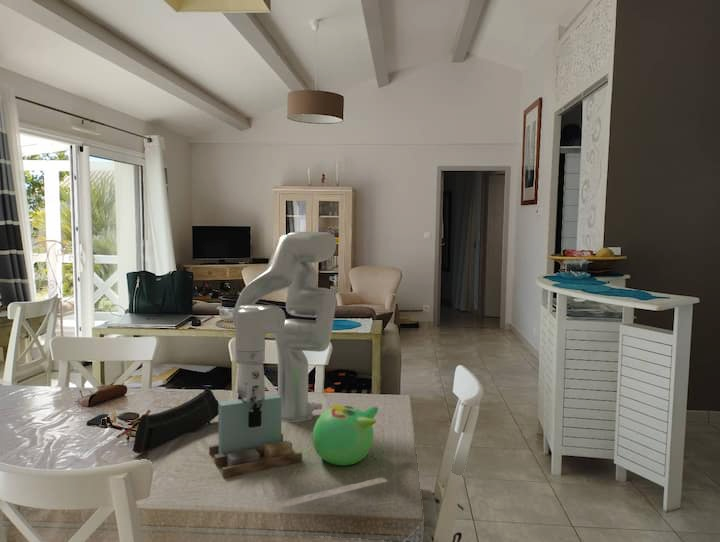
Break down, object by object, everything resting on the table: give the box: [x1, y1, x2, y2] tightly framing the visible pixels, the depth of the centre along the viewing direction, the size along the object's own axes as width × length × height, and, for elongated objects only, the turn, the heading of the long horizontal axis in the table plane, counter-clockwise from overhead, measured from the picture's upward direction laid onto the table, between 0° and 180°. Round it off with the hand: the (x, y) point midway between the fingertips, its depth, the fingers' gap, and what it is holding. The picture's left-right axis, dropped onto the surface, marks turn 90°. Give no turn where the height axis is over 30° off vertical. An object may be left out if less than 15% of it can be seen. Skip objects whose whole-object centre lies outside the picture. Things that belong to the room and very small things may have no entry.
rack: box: [208, 432, 303, 480], centre depth 136 cm, size 20×16×3 cm
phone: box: [86, 413, 109, 427], centre depth 161 cm, size 8×1×15 cm
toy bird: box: [312, 403, 379, 467], centre depth 136 cm, size 18×17×15 cm
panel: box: [217, 393, 282, 454], centre depth 139 cm, size 16×3×14 cm, turn 118°
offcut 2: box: [264, 440, 293, 459], centre depth 135 cm, size 6×4×4 cm, turn 118°
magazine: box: [132, 388, 219, 454], centre depth 150 cm, size 17×3×30 cm
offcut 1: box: [227, 449, 260, 467], centre depth 131 cm, size 7×4×3 cm, turn 118°
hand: (249, 420), depth 138 cm, fingers open, 9 cm apart
